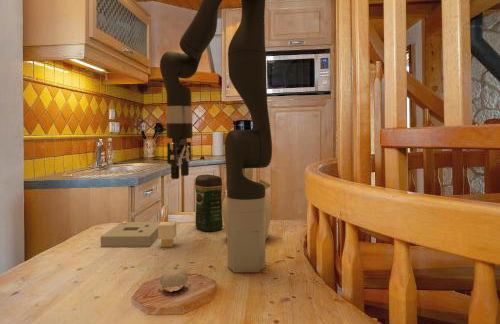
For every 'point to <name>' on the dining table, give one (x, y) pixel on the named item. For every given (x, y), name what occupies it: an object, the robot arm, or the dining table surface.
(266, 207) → the jug
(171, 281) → the garlic
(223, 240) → the dining table surface
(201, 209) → the coffee jar
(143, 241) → the socket
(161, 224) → the plug
